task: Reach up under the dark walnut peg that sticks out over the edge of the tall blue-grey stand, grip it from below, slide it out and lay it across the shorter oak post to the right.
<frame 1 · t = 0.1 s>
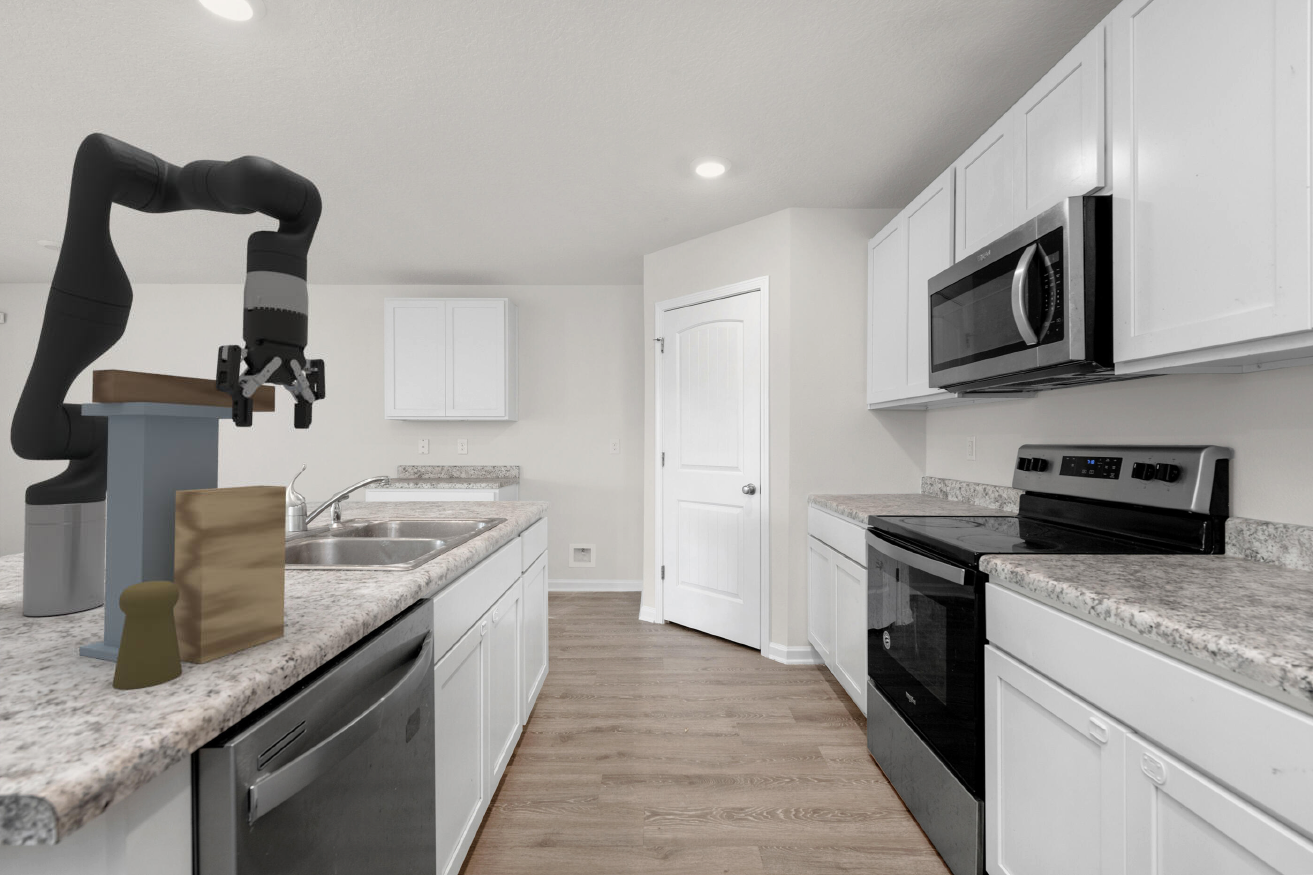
hand: (273, 427, 80), 29 cm above the countertop, tool pointing down, fingers open, 8 cm apart
oak post: (231, 646, 77), on the countertop
cork: (148, 680, 67), on the countertop
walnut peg: (193, 407, 81), point 32 cm above the countertop, touching blue grey stand
blue grey stand: (161, 644, 78), on the countertop
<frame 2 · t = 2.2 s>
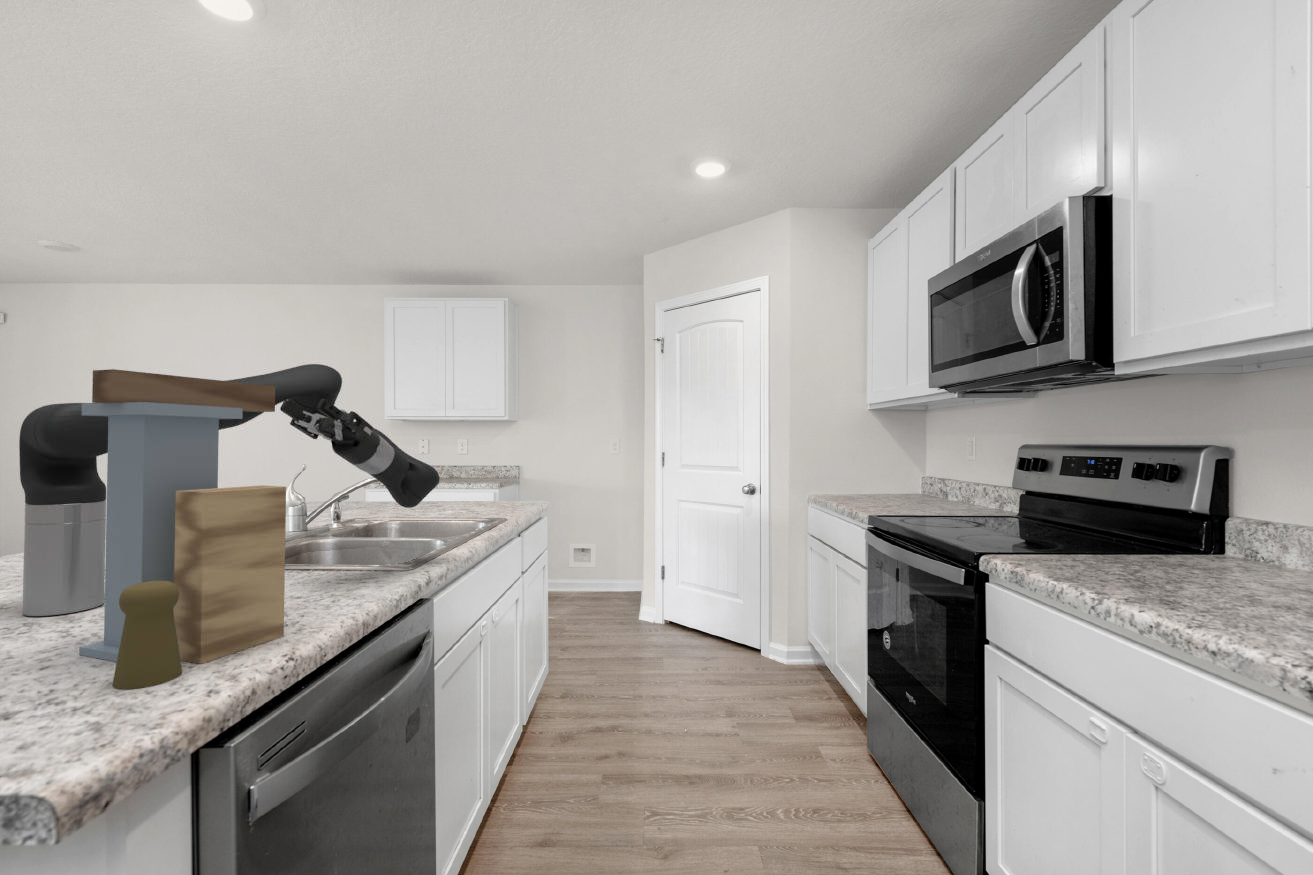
hand: (301, 403, 102), 34 cm above the countertop, tool pointing upward, fingers open, 8 cm apart
nothing on the countertop moved.
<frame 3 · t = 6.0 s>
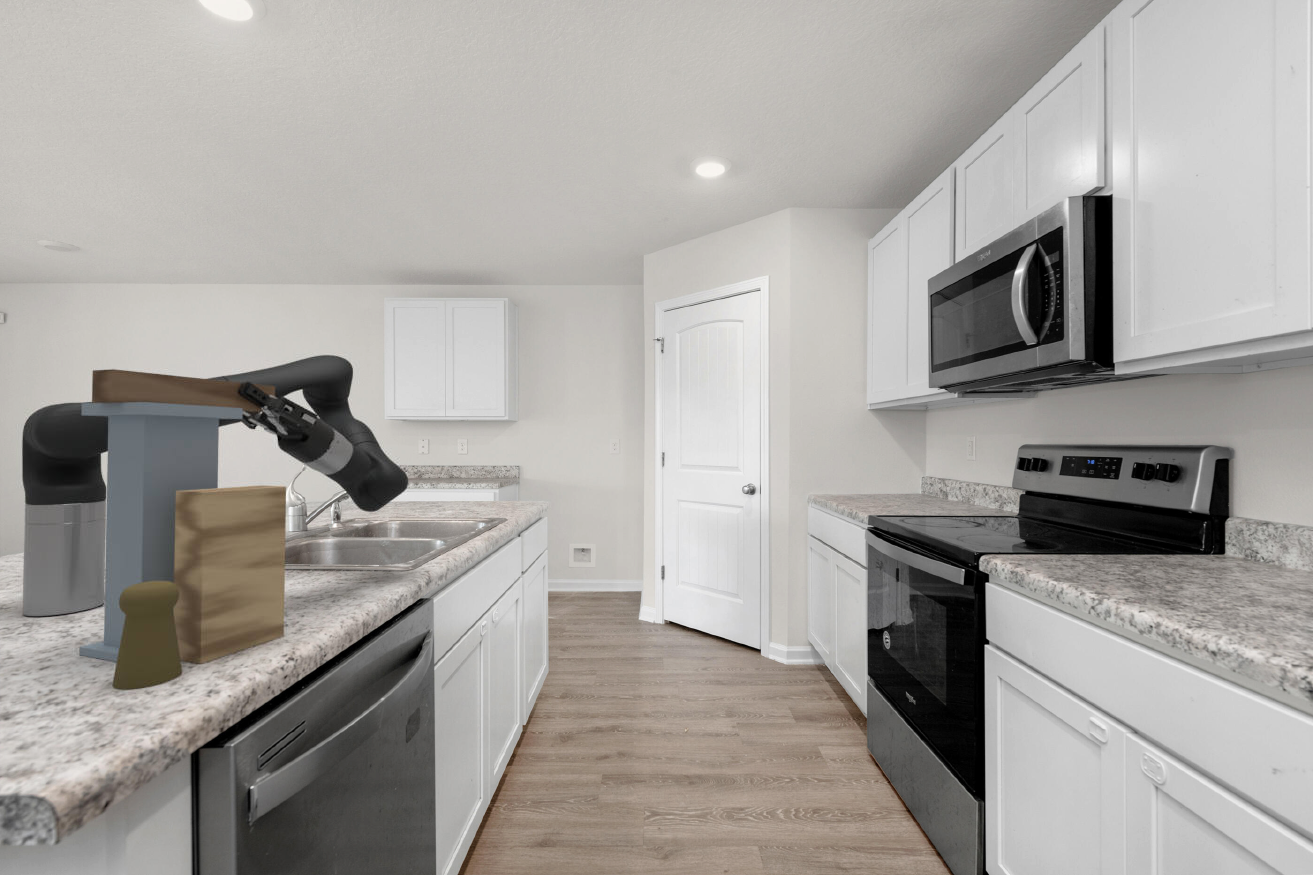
hand: (231, 387, 86), 35 cm above the countertop, tool pointing upward, fingers closed on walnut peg, 4 cm apart
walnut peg: (193, 407, 81), point 32 cm above the countertop, touching blue grey stand, gripper
everything else where it was.
when the fingers open (26 cm above the countertop, at t = 13.6 s): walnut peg drops 1 cm, resting on oak post.
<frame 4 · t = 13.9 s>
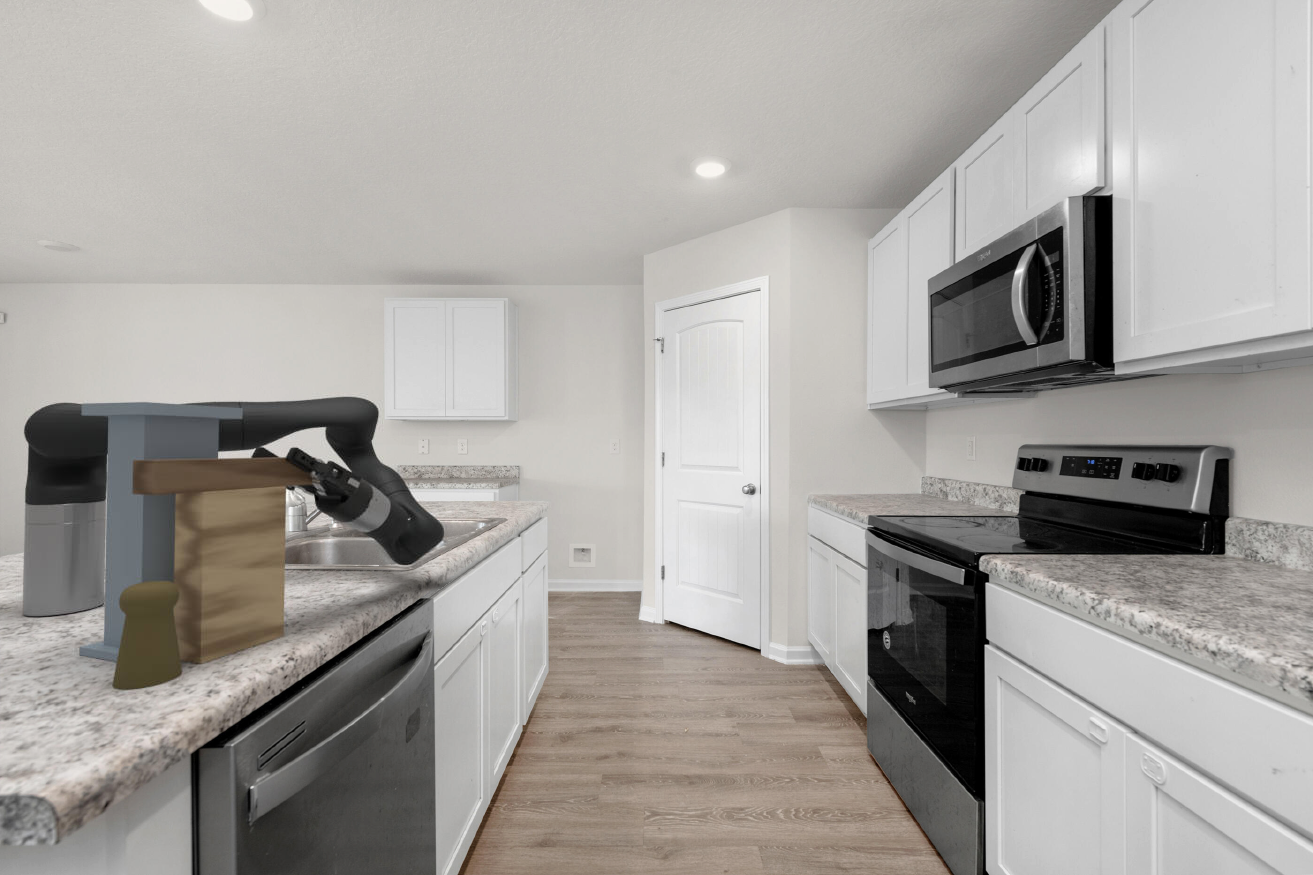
hand: (272, 452, 82), 26 cm above the countertop, tool pointing upward, fingers open, 6 cm apart
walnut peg: (234, 488, 77), point 21 cm above the countertop, touching oak post
everything else where it was.
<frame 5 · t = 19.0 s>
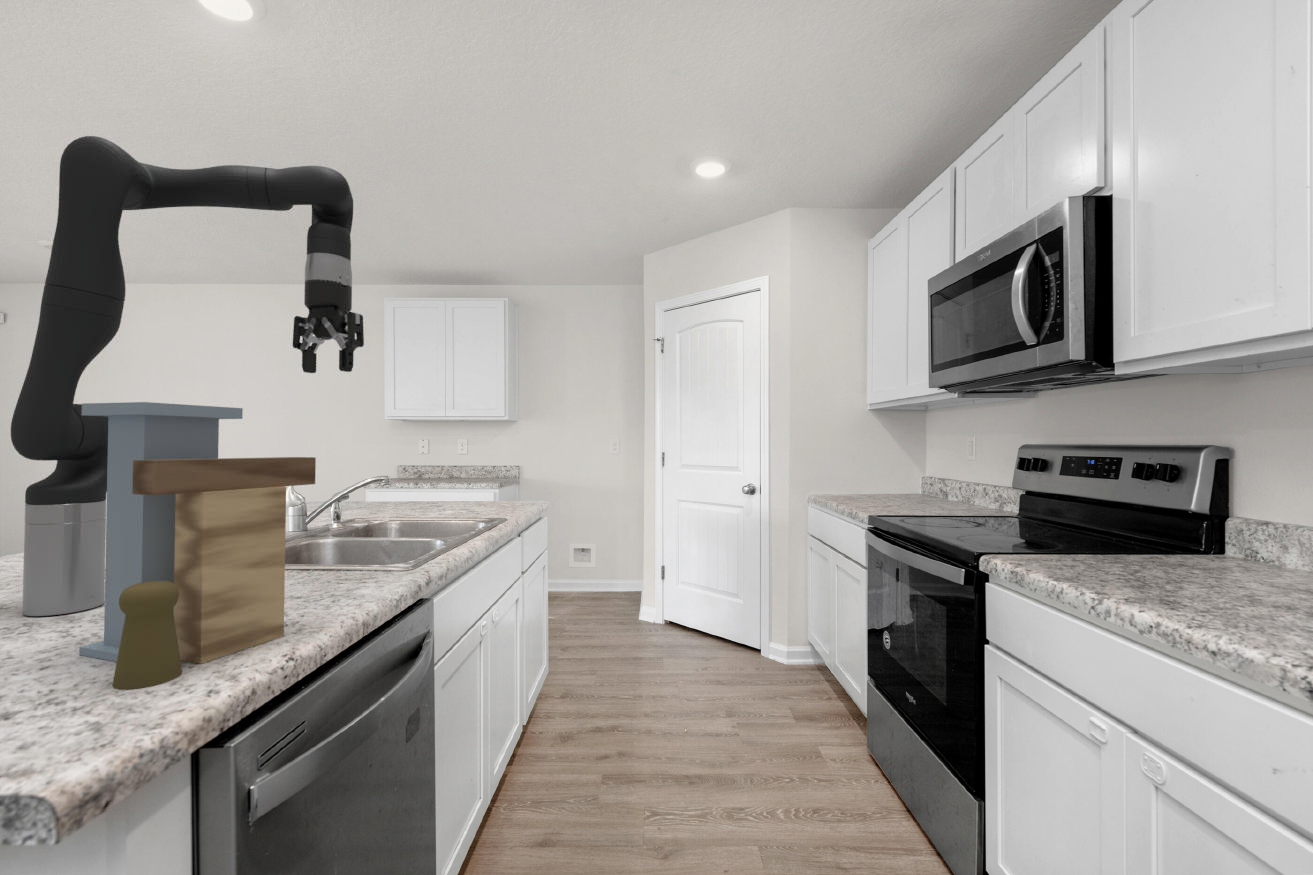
hand: (327, 372, 106), 40 cm above the countertop, tool pointing down, fingers open, 8 cm apart
nothing on the countertop moved.
at the end: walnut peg inside the target area (0.2 cm from its centre), point 21.0 cm above the countertop; the gripper is holding nothing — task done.
